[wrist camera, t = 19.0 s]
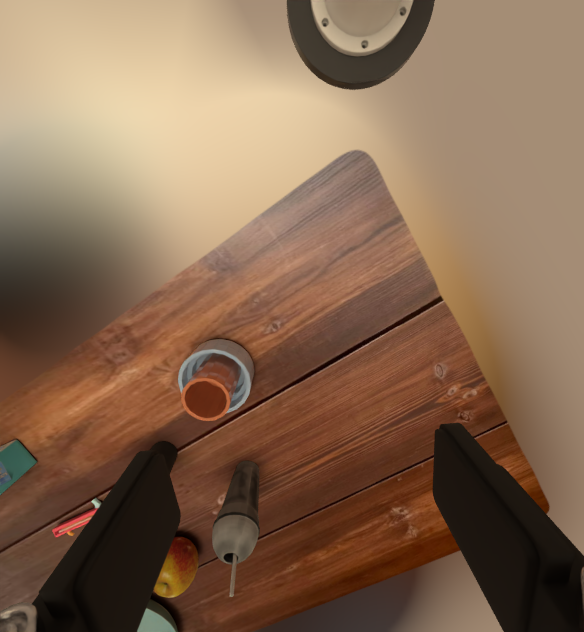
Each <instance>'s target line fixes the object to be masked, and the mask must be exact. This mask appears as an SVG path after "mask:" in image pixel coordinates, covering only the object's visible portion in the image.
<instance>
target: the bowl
mask: <svg viewBox="0 0 584 632" xmlns="http://www.w3.org/2000/svg"><path fill="white" fill-rule="evenodd" d="M212 353H217V354H223V355H225V356H227V357H229V358H231V359H233V360H234V361H235V362H237V363H238V364H239V365H240V366H241V376H240V380H239V383H238V385H237V388H236V391H235V393H234V396H233V399H232V402H231V404H230V407H229V410H228V411H227V412H226V413H228V412H231V411H233V410H236V409H237V408H239V407H240V406H241V405H242V404H243V403H244V402H245V400H246V399H247V397H248V395H249V393H250V390H251V386H252V382H253V378H254V365H253V361H252V359H251V357H250V355H249V354H248V352H247V351H246V350H245V349H244V348H243V347H241V346H240V345H238V344H236V343H234V342H232V341H229V340H224V339H215V340H209V341H206V342H204V343H202V344H200V345H199V346H198V347H197V348H196V349H195V350H194V351H193V352H192V353H191V354H190V355H189V356H188V358H187V359H186V360H185V361H184V362H183V364H182V366H181V368H180V370H179V377H178V383H179V387H180V391H181V393H182V390H183V388H184V387H185V386H186V384H187V383H188V381H189V380H190V379H191V377H192V376H193V374H194V373H195V372H196V370H197V369H198V367H199V366H200V364H201V363H202V362H203V361H204V359H205V358H206V357H207V356H208V355H210V354H212Z"/></svg>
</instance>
